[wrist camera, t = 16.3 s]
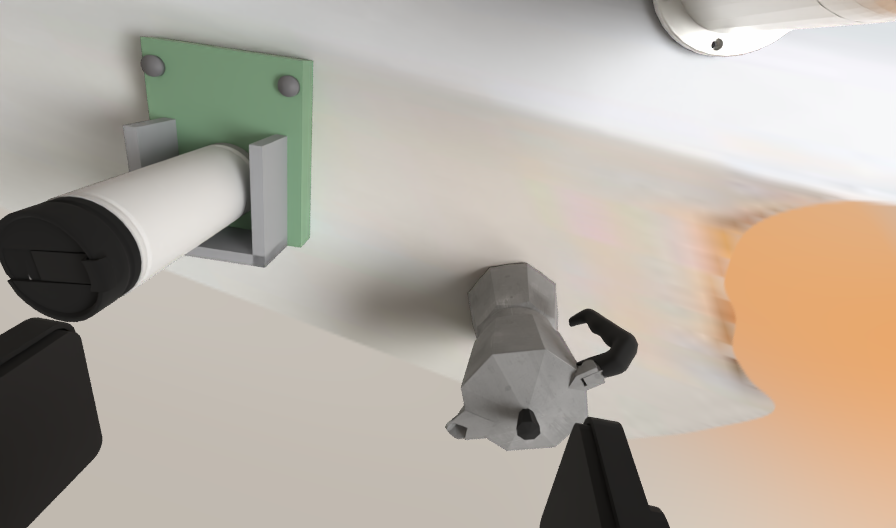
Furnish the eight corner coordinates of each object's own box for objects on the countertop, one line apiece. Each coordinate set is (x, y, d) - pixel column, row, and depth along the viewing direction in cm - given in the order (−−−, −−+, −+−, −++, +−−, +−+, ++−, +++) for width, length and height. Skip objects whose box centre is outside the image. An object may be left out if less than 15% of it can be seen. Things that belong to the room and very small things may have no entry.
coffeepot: (479, 363, 51) (477, 511, 35) (432, 295, 48) (406, 421, 32) (615, 300, 47) (686, 433, 31) (572, 222, 44) (626, 322, 28)
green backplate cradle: (159, 37, 40) (93, 34, 33) (313, 60, 40) (278, 62, 33) (177, 217, 47) (125, 246, 40) (309, 238, 46) (279, 269, 40)
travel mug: (274, 213, 43) (121, 332, 25) (202, 211, 43) (0, 326, 25) (264, 143, 40) (85, 216, 22) (188, 141, 41) (-49, 212, 23)
